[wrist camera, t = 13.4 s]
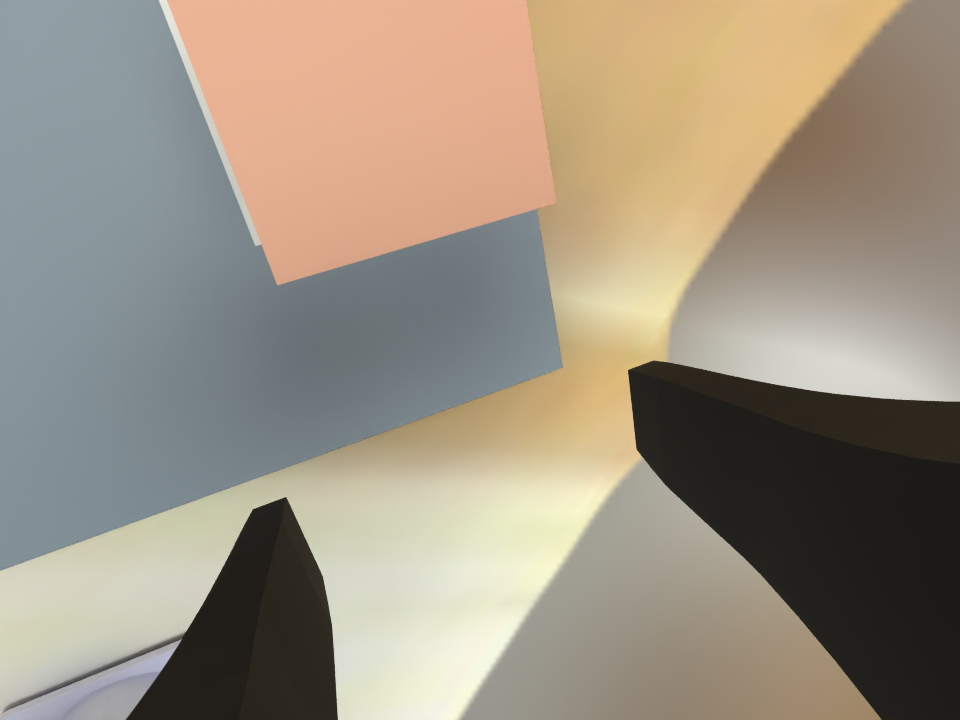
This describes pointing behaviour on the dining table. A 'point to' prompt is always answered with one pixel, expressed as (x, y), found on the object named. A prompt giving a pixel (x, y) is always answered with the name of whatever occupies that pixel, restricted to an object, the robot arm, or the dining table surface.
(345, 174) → the terracotta block
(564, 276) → the dining table surface
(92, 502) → the build board
